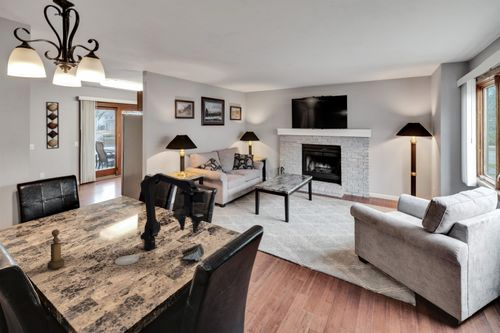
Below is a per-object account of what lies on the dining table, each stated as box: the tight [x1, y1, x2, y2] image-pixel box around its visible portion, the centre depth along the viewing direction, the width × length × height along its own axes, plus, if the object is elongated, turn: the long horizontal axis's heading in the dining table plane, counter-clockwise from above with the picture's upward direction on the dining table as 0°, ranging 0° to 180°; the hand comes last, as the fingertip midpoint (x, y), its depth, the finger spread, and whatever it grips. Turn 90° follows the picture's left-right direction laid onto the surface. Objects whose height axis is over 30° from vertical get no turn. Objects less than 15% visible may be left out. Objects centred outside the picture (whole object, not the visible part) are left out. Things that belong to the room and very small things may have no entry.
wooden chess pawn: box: [46, 228, 65, 270], centre depth 121 cm, size 7×6×18 cm
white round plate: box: [114, 254, 140, 266], centre depth 128 cm, size 11×11×1 cm
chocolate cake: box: [181, 243, 205, 261], centre depth 130 cm, size 10×7×12 cm
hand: (188, 231), depth 135 cm, fingers open, 9 cm apart
